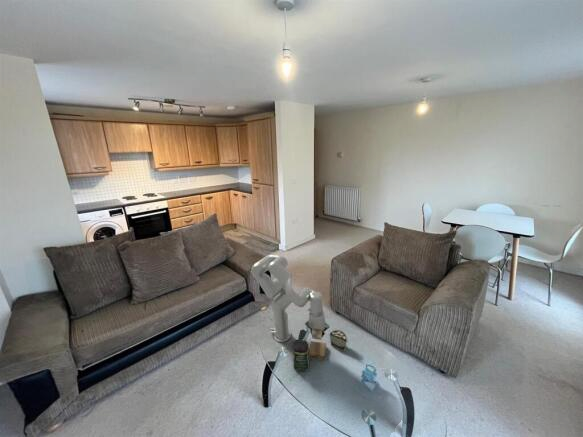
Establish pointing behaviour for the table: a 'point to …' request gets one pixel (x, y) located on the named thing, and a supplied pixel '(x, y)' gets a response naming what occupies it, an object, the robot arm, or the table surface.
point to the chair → (369, 376)
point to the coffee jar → (301, 355)
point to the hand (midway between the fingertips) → (317, 334)
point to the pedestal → (317, 350)
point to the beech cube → (316, 334)
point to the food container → (338, 339)
